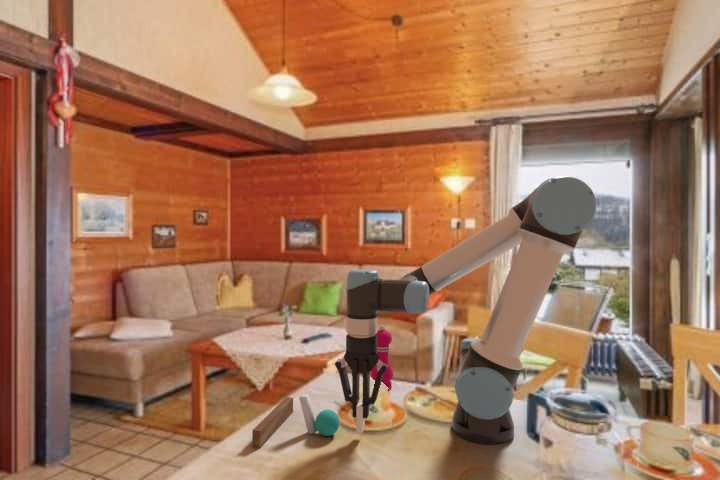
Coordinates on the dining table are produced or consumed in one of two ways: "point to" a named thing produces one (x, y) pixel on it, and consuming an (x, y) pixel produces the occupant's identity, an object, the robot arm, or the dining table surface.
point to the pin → (308, 413)
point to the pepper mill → (383, 356)
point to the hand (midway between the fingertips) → (360, 430)
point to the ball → (327, 422)
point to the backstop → (272, 422)
